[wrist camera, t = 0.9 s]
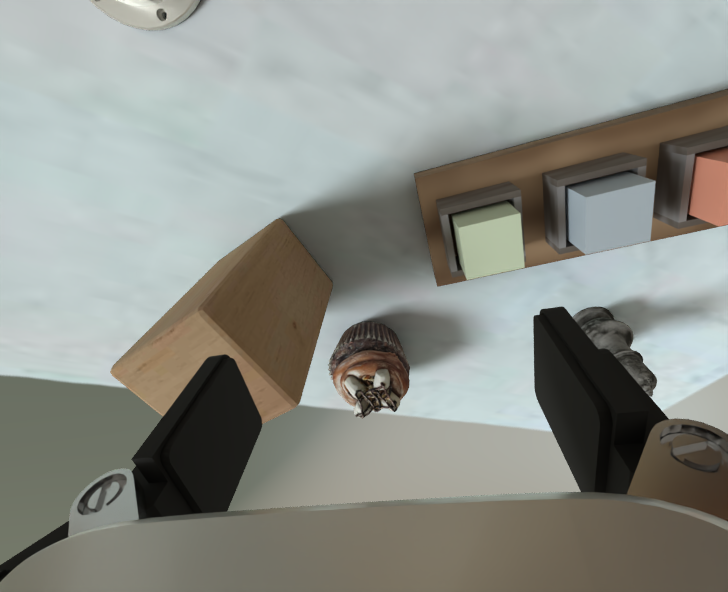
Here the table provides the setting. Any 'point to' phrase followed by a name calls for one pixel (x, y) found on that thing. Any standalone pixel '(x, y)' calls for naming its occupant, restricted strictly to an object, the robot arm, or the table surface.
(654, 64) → the table surface
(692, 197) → the red key
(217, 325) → the wooden block
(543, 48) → the table surface
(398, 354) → the cupcake
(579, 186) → the slate key
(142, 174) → the table surface
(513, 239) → the sage key
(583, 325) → the grey tall stone piece
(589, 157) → the console
